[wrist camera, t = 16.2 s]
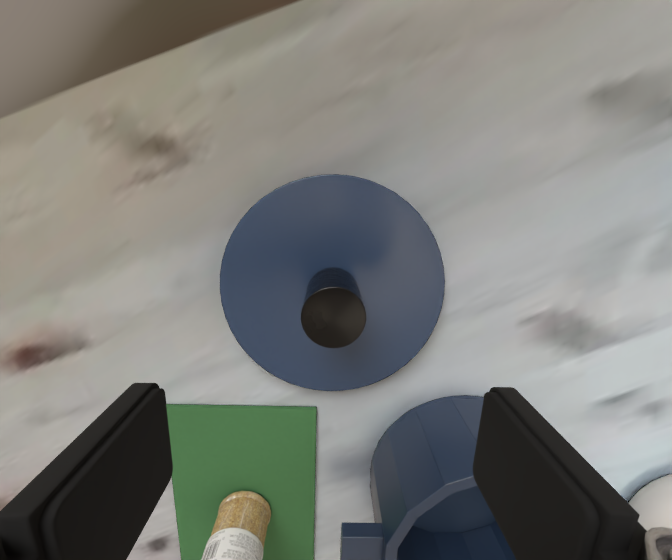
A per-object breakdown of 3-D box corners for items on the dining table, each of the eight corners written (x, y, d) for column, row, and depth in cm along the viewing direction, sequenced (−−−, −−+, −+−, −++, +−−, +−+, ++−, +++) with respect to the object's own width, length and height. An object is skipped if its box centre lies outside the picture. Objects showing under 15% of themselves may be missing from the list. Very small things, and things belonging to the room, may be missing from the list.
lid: (218, 171, 21) (175, 161, 15) (451, 179, 22) (497, 173, 16) (230, 380, 25) (199, 437, 19) (427, 384, 26) (457, 441, 20)
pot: (342, 392, 26) (346, 468, 19) (587, 397, 26) (684, 472, 19) (336, 534, 29) (337, 642, 22) (551, 535, 30) (621, 642, 23)
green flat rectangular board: (166, 403, 26) (163, 407, 25) (316, 406, 26) (316, 409, 26) (186, 587, 31) (184, 592, 30) (312, 587, 31) (312, 592, 31)
